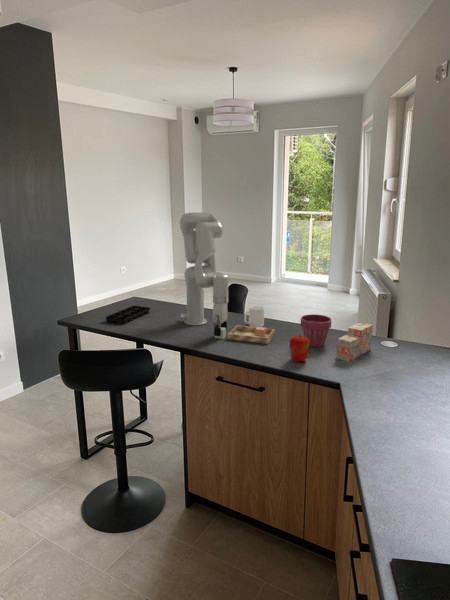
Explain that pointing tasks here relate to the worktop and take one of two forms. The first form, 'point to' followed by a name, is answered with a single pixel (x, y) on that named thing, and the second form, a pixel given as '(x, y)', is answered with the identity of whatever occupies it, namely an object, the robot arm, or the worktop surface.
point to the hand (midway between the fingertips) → (220, 333)
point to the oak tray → (250, 335)
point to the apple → (299, 348)
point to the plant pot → (316, 328)
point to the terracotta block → (260, 331)
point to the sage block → (223, 333)
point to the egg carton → (127, 315)
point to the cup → (255, 316)
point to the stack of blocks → (355, 342)
